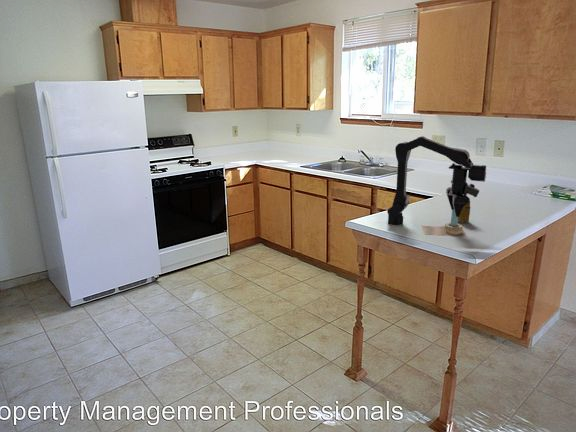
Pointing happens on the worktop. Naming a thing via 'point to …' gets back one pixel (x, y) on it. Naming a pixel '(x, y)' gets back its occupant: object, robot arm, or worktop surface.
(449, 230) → the bead
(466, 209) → the condiment
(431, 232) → the board
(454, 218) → the dowel
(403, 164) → the robot arm
